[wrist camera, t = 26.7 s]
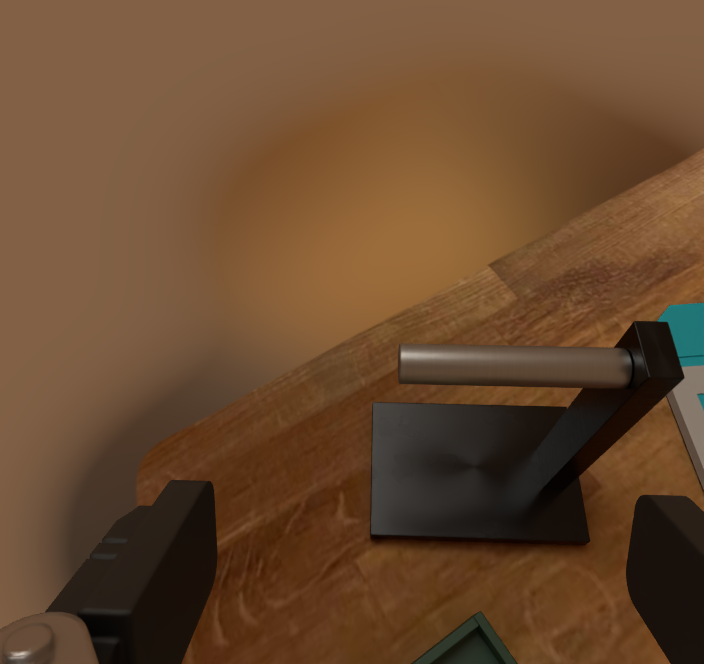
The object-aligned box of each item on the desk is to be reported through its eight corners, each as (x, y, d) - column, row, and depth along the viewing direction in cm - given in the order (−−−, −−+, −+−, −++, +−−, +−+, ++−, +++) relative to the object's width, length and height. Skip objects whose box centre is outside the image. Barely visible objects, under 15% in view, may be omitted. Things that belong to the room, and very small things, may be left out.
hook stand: (370, 538, 40) (373, 445, 24) (372, 408, 45) (376, 258, 29) (584, 545, 39) (738, 455, 23) (562, 412, 45) (674, 262, 28)
